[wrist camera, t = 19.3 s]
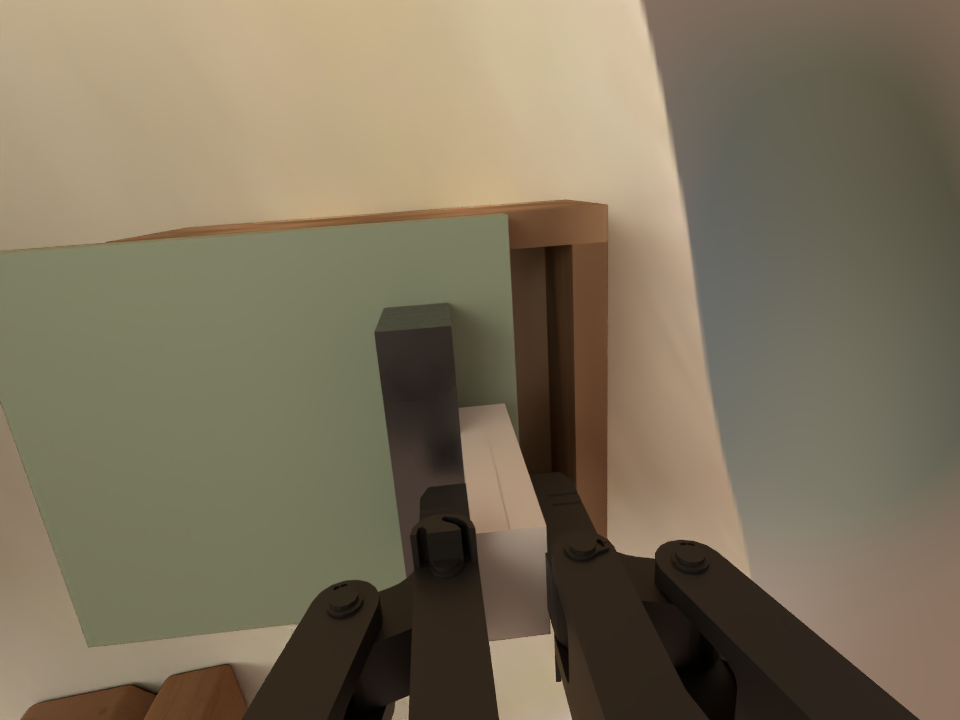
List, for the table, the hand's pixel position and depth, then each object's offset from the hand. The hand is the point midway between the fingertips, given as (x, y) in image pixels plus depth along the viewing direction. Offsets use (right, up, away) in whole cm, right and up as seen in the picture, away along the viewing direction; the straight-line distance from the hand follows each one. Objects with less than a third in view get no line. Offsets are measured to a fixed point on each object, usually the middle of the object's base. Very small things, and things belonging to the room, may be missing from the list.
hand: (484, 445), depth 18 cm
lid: (-7, 0, +2) cm, 7 cm away
